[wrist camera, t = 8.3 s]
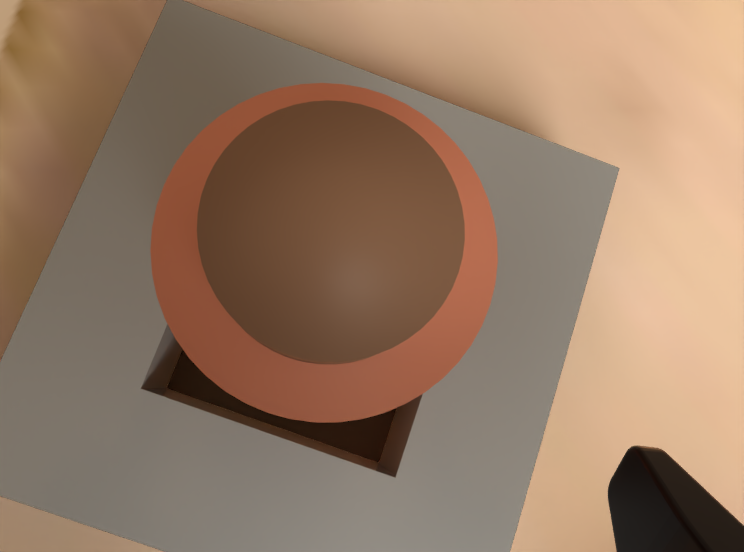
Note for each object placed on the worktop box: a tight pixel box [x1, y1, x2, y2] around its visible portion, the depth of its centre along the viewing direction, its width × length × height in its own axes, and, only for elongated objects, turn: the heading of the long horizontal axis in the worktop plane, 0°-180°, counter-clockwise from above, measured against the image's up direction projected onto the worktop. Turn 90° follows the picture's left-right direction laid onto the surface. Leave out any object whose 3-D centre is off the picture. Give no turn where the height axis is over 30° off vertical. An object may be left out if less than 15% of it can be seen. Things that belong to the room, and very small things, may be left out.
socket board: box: [0, 0, 619, 552], centre depth 17 cm, size 12×12×3 cm
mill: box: [150, 83, 498, 422], centre depth 13 cm, size 4×4×11 cm
